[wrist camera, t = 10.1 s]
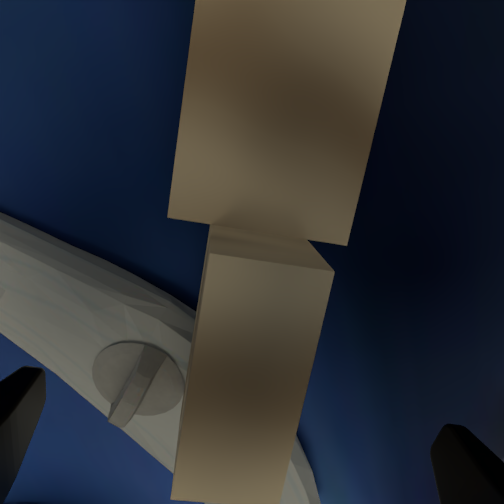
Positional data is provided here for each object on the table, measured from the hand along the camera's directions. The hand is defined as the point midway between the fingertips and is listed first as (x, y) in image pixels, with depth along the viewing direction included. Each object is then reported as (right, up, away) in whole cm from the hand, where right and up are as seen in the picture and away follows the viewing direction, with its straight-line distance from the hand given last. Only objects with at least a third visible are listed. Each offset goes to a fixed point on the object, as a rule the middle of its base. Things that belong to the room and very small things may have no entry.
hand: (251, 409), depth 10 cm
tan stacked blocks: (0, +4, +4) cm, 6 cm away
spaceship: (-4, -2, +10) cm, 11 cm away
